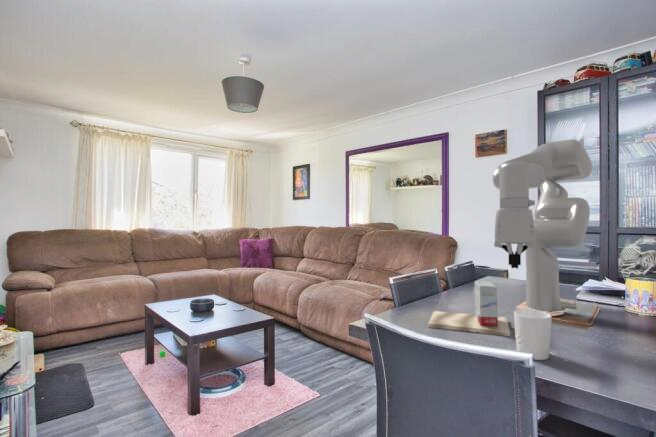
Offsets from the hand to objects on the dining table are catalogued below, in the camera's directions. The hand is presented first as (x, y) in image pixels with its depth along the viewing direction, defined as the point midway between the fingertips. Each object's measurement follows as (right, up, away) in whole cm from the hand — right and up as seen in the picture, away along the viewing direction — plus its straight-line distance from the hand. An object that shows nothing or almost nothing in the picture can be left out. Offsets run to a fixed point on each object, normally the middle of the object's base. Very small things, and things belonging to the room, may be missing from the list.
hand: (514, 267), depth 101 cm
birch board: (-11, -18, +6) cm, 22 cm away
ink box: (-7, -17, +4) cm, 19 cm away
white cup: (-5, -19, -17) cm, 26 cm away
